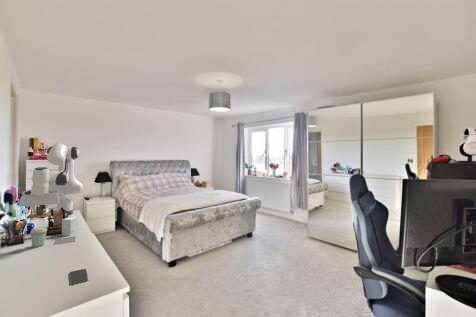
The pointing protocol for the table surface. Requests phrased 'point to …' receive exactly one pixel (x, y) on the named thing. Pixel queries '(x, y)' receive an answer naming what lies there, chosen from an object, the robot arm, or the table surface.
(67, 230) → the supplement box
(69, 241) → the mat
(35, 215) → the lid
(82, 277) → the smartphone
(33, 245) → the coffee cup
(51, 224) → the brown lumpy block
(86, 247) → the table surface
